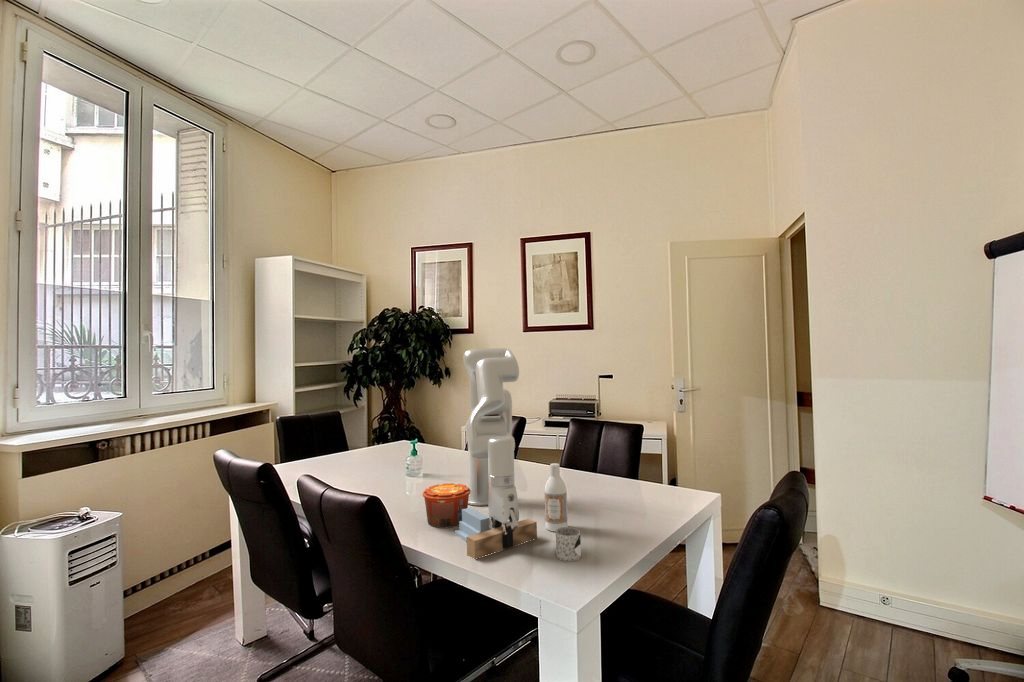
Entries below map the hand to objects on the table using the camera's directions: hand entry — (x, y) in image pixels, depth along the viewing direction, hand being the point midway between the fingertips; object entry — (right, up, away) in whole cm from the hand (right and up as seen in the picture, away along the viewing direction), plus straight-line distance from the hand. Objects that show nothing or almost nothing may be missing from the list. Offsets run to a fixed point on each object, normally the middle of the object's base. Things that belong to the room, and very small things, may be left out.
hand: (503, 543), depth 136 cm
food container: (-19, -2, +22) cm, 30 cm away
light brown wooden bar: (0, -1, 0) cm, 1 cm away
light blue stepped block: (-8, -1, +8) cm, 12 cm away
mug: (+18, 0, -6) cm, 19 cm away
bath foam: (+17, -1, +13) cm, 21 cm away
